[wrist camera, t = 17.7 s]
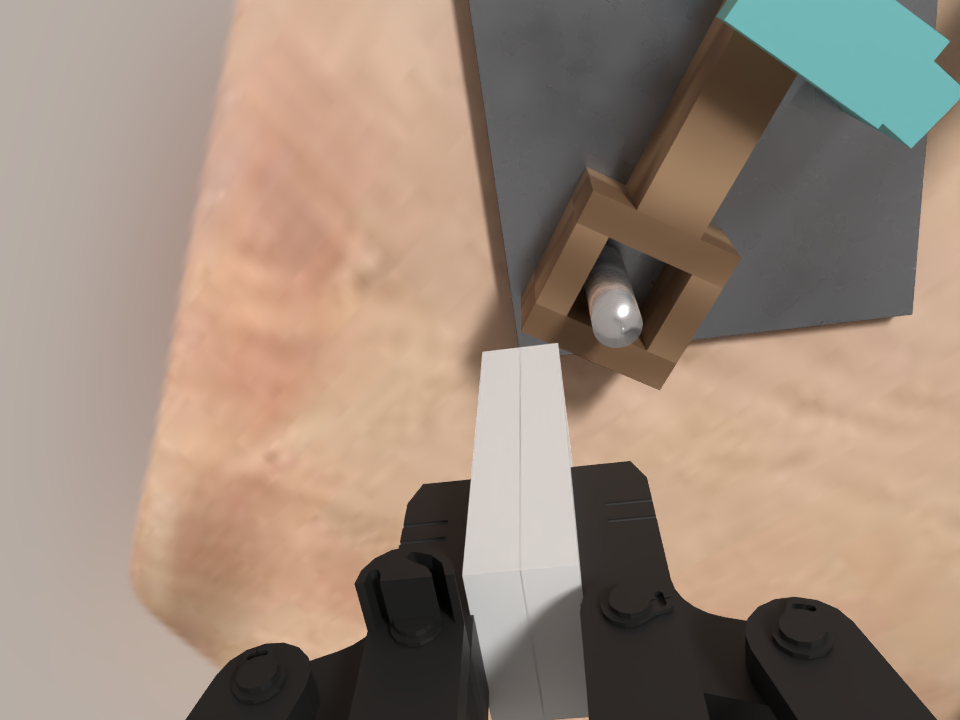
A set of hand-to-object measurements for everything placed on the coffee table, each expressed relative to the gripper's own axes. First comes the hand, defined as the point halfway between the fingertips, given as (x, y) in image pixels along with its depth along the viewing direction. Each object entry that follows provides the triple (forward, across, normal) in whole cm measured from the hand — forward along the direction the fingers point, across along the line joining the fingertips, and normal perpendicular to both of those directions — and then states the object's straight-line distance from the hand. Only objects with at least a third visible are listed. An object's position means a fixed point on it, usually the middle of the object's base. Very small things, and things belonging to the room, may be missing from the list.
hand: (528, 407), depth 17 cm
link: (+23, +7, -1) cm, 24 cm away
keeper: (+24, +12, +4) cm, 27 cm away
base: (+24, +8, -1) cm, 26 cm away
